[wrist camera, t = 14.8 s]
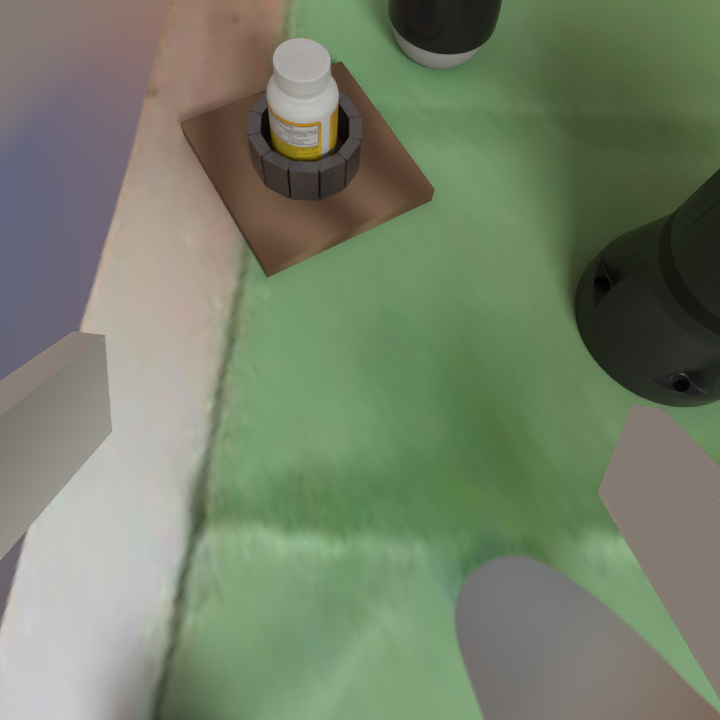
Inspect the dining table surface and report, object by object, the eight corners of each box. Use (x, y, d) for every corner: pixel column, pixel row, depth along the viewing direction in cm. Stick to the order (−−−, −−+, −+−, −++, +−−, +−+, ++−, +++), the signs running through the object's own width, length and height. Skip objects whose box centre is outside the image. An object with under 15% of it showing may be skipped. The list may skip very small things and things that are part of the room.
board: (340, 74, 50) (341, 61, 49) (431, 200, 46) (434, 189, 45) (184, 135, 47) (180, 123, 45) (267, 277, 43) (265, 268, 41)
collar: (326, 100, 47) (327, 67, 44) (378, 174, 45) (382, 145, 42) (235, 137, 45) (228, 105, 42) (284, 216, 43) (281, 189, 40)
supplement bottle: (300, 193, 44) (294, 102, 35) (260, 151, 45) (245, 52, 36) (349, 161, 45) (356, 65, 36) (310, 121, 46) (307, 19, 37)
